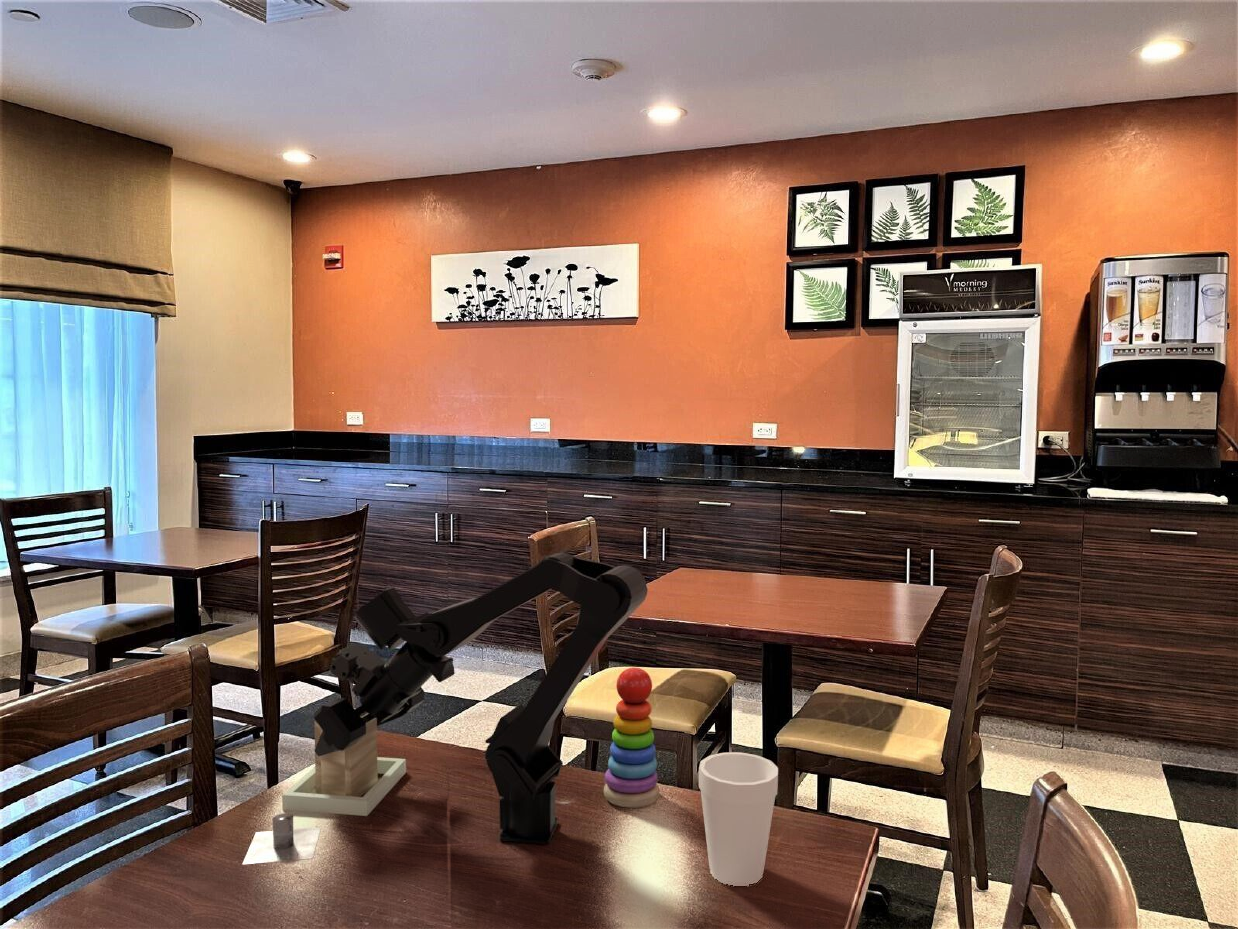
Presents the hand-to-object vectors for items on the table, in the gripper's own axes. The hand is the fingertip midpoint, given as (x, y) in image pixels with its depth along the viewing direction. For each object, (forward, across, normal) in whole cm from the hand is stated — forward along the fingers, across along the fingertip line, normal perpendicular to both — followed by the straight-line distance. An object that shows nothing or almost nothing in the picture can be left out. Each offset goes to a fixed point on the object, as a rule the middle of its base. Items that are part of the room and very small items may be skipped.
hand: (338, 741), depth 127 cm
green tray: (+5, 0, +6) cm, 8 cm away
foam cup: (-35, 0, +46) cm, 58 cm away
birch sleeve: (+4, 0, +6) cm, 7 cm away
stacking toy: (-22, -14, +34) cm, 43 cm away
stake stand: (+3, +16, +8) cm, 18 cm away
